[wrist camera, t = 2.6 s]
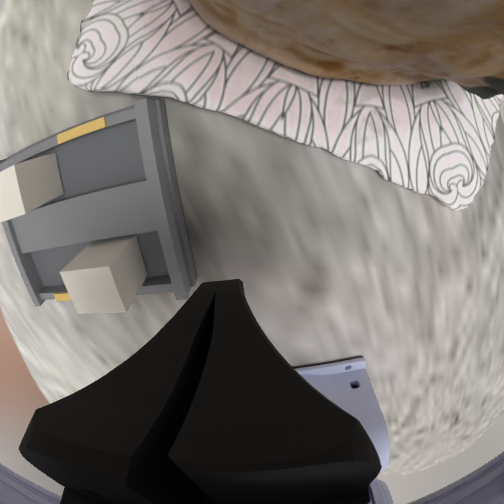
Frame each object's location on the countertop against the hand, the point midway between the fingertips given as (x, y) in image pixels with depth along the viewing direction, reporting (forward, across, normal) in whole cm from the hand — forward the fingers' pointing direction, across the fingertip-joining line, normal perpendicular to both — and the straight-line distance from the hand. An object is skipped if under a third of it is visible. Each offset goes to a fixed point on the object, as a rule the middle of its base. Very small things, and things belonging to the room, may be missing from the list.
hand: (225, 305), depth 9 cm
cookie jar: (+7, -8, -16) cm, 19 cm away
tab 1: (+5, +10, -5) cm, 13 cm away
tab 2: (+5, +7, 0) cm, 8 cm away
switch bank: (+6, +8, -3) cm, 11 cm away
